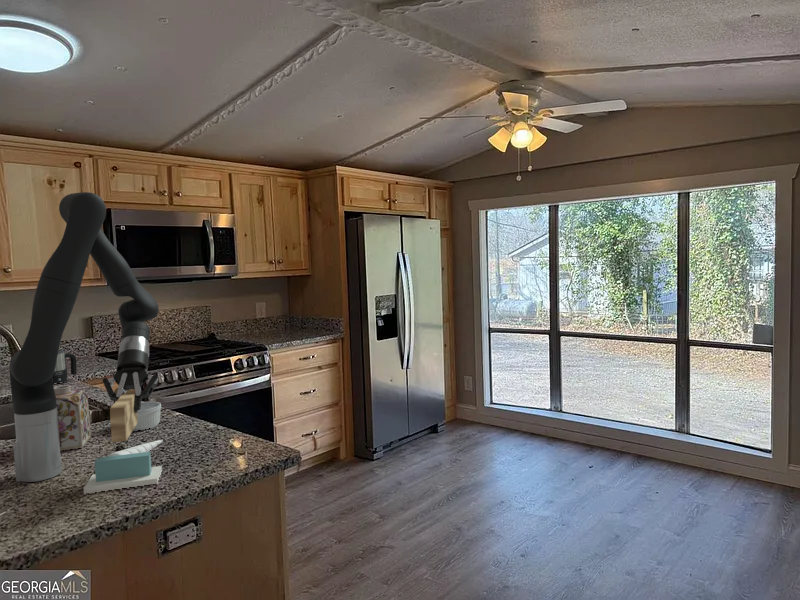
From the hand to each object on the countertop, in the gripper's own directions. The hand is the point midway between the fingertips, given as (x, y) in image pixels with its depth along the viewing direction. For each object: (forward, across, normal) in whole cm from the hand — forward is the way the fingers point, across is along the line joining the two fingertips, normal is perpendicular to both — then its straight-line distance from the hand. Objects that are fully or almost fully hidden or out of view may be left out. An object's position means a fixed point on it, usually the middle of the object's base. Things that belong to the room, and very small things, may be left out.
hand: (127, 411), depth 142 cm
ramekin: (-22, -5, +46) cm, 51 cm away
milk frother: (-91, -57, +116) cm, 159 cm away
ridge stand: (+15, -1, +9) cm, 17 cm away
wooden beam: (+6, 0, 0) cm, 6 cm away
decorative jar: (-12, -24, +37) cm, 46 cm away
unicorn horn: (+1, -1, +23) cm, 23 cm away
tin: (-40, -13, +64) cm, 77 cm away
